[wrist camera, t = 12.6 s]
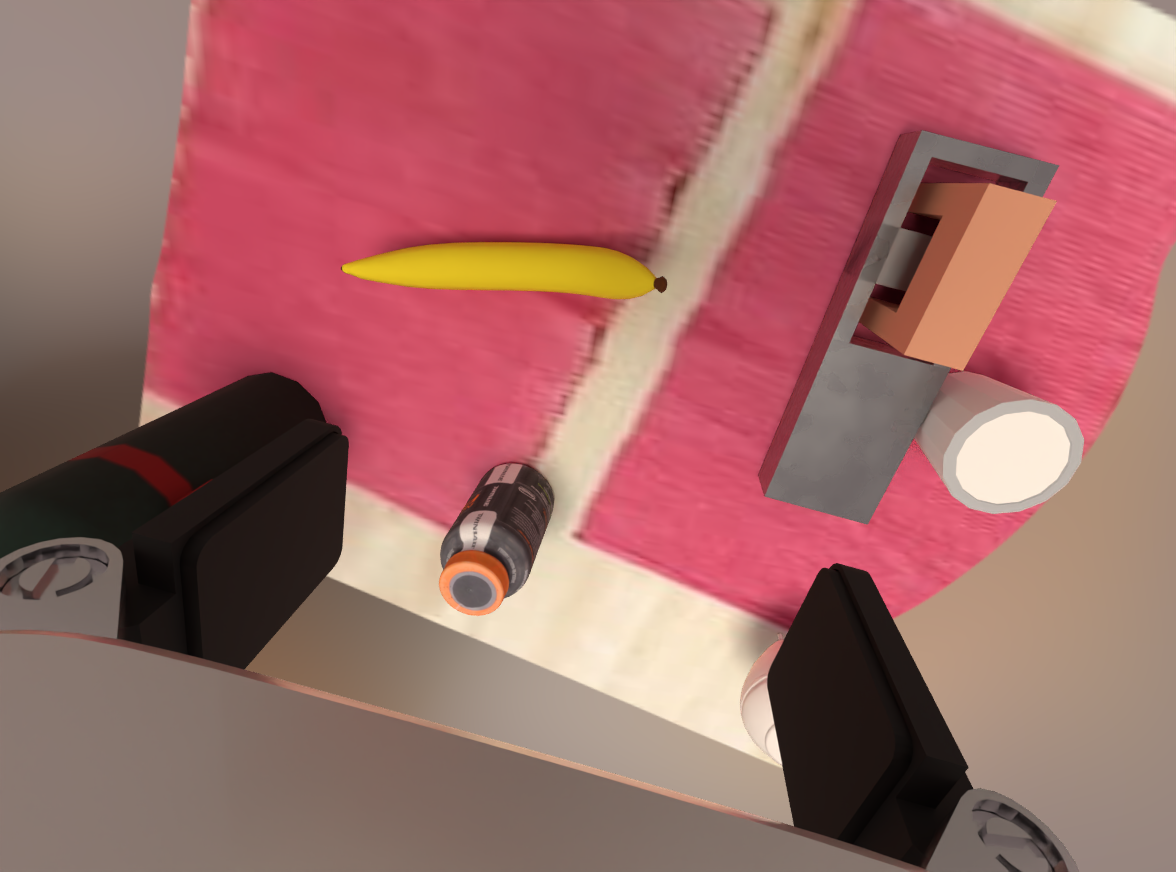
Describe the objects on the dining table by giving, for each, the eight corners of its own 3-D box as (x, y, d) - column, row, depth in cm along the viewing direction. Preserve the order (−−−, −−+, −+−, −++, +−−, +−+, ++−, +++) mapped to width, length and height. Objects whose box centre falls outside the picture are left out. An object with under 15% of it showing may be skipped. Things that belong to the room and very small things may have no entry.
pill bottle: (483, 453, 43) (425, 538, 33) (560, 470, 43) (526, 562, 32) (475, 519, 45) (418, 617, 35) (548, 536, 45) (513, 640, 35)
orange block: (917, 183, 32) (989, 183, 25) (969, 197, 32) (1056, 201, 25) (856, 319, 36) (903, 354, 28) (903, 332, 36) (962, 371, 28)
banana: (376, 235, 37) (322, 244, 32) (669, 244, 35) (669, 255, 30) (382, 280, 39) (331, 297, 33) (665, 292, 37) (665, 312, 31)
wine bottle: (361, 476, 45) (-107, 921, 18) (240, 460, 46) (-380, 861, 19) (351, 381, 42) (-238, 749, 15) (221, 366, 43) (-560, 686, 16)
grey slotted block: (900, 134, 31) (922, 130, 29) (1025, 167, 31) (1059, 165, 29) (758, 475, 41) (764, 496, 38) (854, 501, 41) (867, 524, 38)
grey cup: (887, 457, 39) (929, 511, 33) (910, 359, 36) (961, 397, 30) (996, 463, 38) (1061, 519, 32) (1027, 363, 35) (1106, 403, 29)
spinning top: (851, 633, 45) (908, 776, 34) (780, 684, 48) (812, 831, 37) (778, 579, 44) (814, 710, 33) (710, 635, 47) (722, 772, 36)
